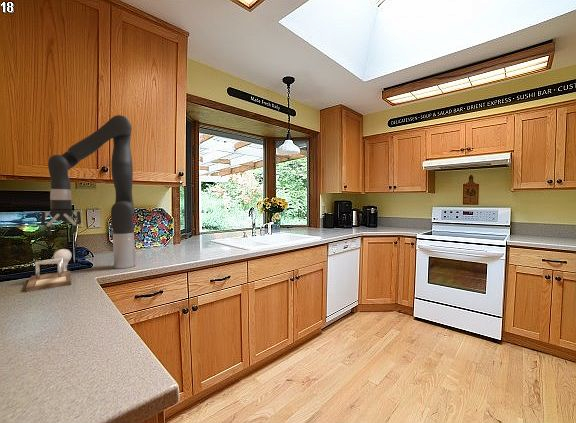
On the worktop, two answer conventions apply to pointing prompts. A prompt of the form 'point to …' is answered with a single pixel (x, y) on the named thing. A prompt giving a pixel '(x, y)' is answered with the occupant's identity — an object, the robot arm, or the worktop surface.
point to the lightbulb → (66, 257)
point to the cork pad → (50, 281)
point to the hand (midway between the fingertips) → (62, 233)
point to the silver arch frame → (50, 261)
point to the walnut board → (33, 279)
